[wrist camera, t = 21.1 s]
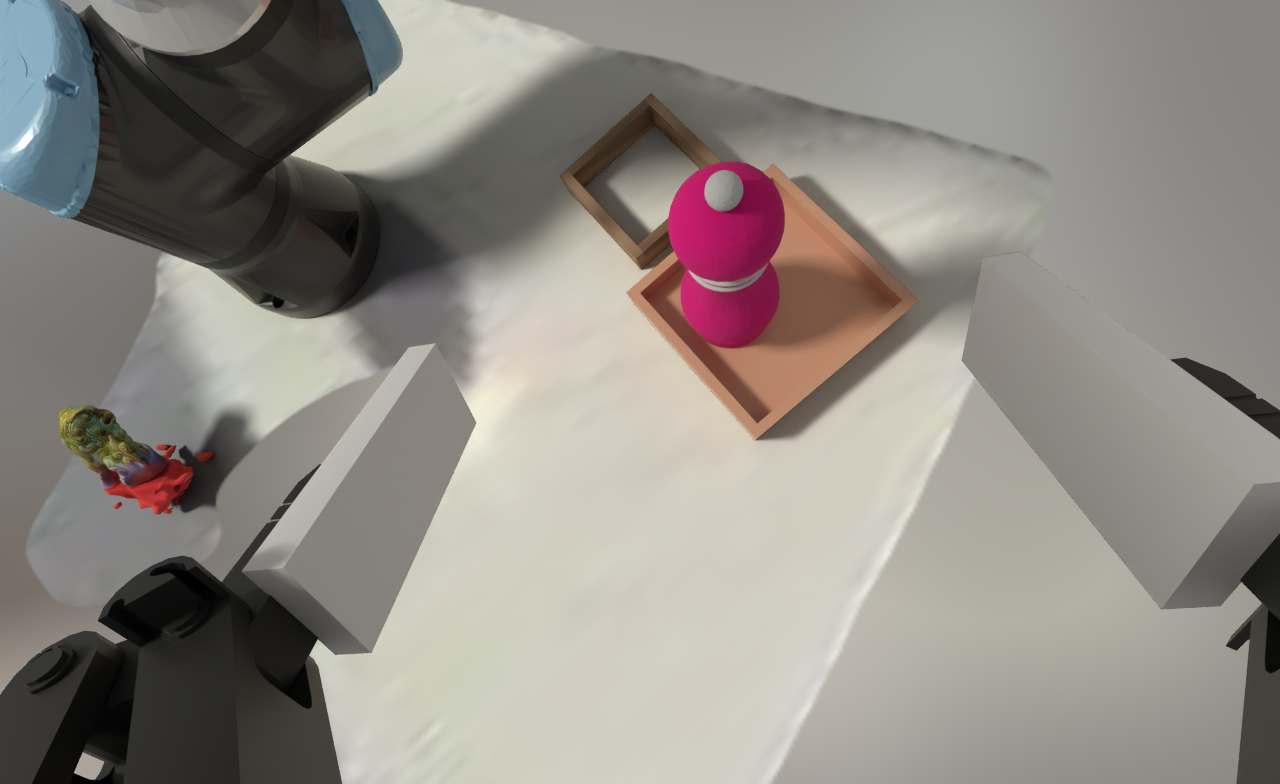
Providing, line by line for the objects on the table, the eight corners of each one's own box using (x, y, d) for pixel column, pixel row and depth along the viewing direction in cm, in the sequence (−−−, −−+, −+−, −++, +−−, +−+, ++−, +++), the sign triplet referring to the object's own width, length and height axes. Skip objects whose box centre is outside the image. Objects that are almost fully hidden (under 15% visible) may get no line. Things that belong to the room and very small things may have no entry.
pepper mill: (690, 360, 42) (650, 270, 23) (682, 276, 43) (636, 123, 24) (781, 348, 41) (819, 243, 22) (769, 263, 42) (796, 90, 23)
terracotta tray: (633, 303, 45) (626, 292, 42) (770, 183, 44) (772, 163, 41) (754, 440, 41) (756, 438, 39) (905, 312, 41) (919, 300, 38)
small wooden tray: (569, 190, 48) (560, 175, 45) (655, 112, 47) (651, 93, 45) (641, 269, 45) (636, 258, 43) (733, 188, 45) (733, 172, 42)
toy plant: (225, 449, 56) (144, 362, 48) (243, 501, 50) (154, 411, 42) (138, 492, 52) (35, 405, 45) (146, 554, 46) (29, 466, 38)
